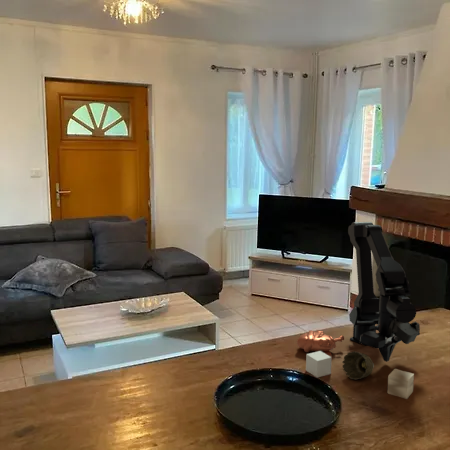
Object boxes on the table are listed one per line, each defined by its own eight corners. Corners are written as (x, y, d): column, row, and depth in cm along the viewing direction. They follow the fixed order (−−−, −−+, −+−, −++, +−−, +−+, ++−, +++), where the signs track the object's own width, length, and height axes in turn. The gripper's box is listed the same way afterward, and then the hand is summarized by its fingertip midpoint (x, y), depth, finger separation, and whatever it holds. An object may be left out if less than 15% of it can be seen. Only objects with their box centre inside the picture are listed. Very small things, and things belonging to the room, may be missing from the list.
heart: (306, 340, 148) (350, 336, 153) (289, 329, 160) (331, 325, 164) (306, 360, 149) (350, 355, 153) (289, 347, 160) (330, 343, 165)
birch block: (387, 393, 130) (388, 375, 129) (393, 386, 134) (394, 368, 133) (406, 399, 127) (408, 381, 126) (412, 391, 131) (414, 373, 130)
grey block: (305, 370, 143) (306, 354, 142) (319, 367, 145) (320, 350, 144) (316, 377, 138) (317, 360, 137) (331, 374, 140) (331, 357, 140)
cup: (360, 380, 143) (345, 381, 137) (354, 354, 145) (339, 354, 140) (383, 376, 138) (368, 377, 132) (377, 349, 141) (362, 349, 135)
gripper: (394, 325, 132) (391, 380, 135) (432, 311, 143) (428, 362, 146) (360, 314, 141) (357, 366, 143) (398, 301, 152) (395, 349, 155)
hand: (386, 361), depth 147 cm, fingers closed
